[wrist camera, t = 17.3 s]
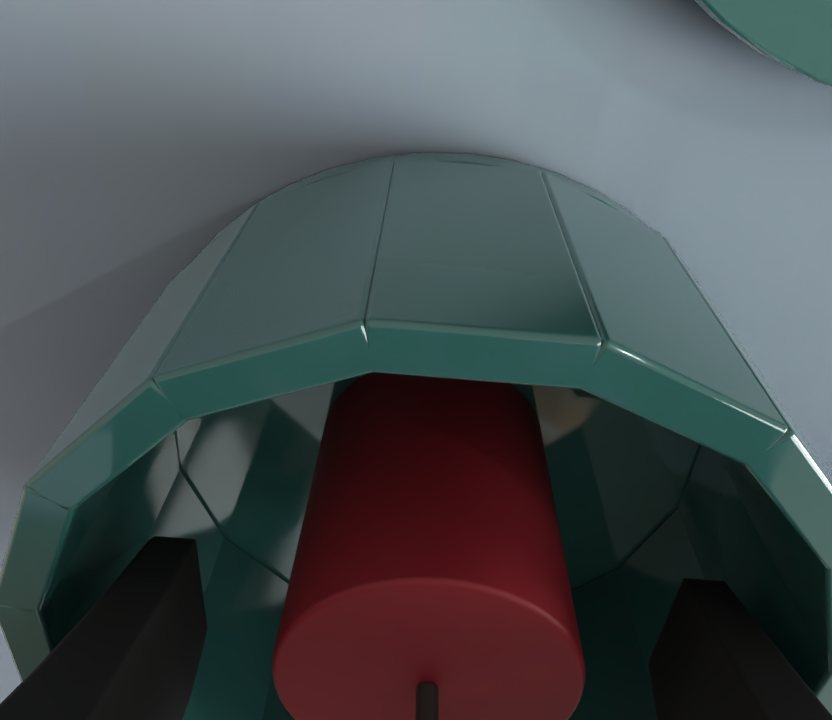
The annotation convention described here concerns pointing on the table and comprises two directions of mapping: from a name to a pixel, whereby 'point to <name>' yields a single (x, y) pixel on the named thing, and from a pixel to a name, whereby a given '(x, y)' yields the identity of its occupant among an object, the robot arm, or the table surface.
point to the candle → (429, 563)
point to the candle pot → (443, 358)
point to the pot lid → (782, 31)
